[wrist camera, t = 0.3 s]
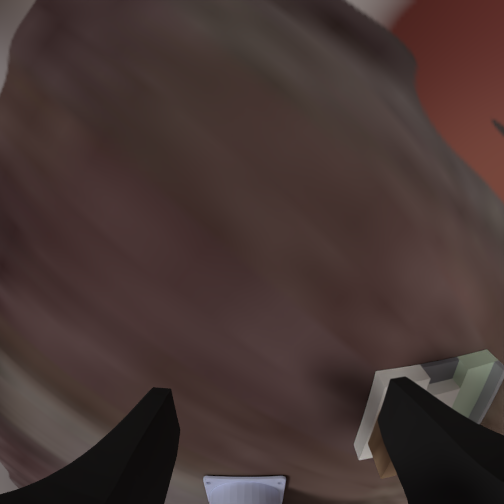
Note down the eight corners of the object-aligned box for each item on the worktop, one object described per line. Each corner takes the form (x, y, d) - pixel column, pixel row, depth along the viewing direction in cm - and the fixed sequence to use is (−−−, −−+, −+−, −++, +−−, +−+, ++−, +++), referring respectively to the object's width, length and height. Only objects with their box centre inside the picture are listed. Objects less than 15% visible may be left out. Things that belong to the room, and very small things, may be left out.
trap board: (455, 419, 23) (469, 440, 20) (353, 444, 23) (362, 472, 20) (486, 349, 21) (507, 369, 17) (375, 371, 21) (392, 400, 17)
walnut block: (408, 434, 20) (425, 466, 17) (367, 443, 20) (380, 478, 16) (423, 402, 19) (444, 435, 15) (379, 411, 19) (396, 448, 15)
